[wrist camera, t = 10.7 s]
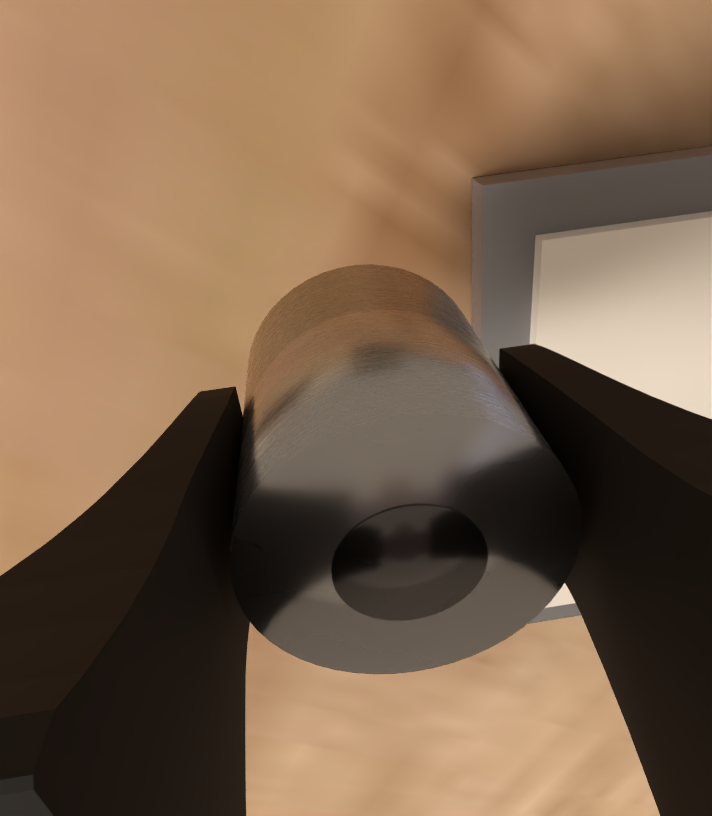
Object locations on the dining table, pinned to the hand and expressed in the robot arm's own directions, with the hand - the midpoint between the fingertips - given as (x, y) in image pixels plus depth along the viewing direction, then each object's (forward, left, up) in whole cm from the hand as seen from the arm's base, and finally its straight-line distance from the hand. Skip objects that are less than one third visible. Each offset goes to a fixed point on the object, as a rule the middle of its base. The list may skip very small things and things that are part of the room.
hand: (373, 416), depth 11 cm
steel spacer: (0, 0, -2) cm, 2 cm away
